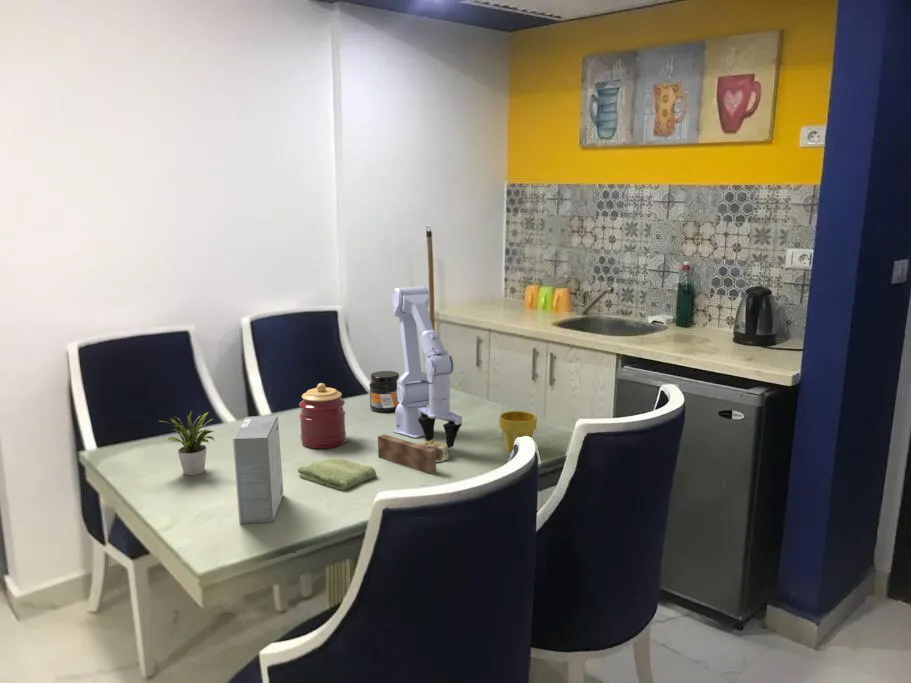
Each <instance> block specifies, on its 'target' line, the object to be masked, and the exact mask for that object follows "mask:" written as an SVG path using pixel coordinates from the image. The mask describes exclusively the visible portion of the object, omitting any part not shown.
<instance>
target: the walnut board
mask: <svg viewBox="0 0 911 683" xmlns="http://www.w3.org/2000/svg"><path fill="white" fill-rule="evenodd" d="M419 444H420V443H415V442H413V441H408V440H405V439H401V438H398V437H394V436H392V435H388V434H386V433H384V434H381V435H378V436H377V451H378V453H377V454H378V456H377V457H378V458H379V459H383V460H386V461H389V462H390V463H391V462H392V463H395V464H398V465H401V466H404V467H407V468H410V469H413V470H415V471H420V472H423V473H426V474H429V475H431V474H434V473H435V472H437V462H436V461H437V460H436V449H433V448H429V447H426V446H422V445H419Z"/></svg>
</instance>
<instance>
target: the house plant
mask: <svg viewBox="0 0 911 683" xmlns="http://www.w3.org/2000/svg"><path fill="white" fill-rule="evenodd" d="M192 412H193V410H190V412H189V415H187V423H188V429H187V428H186V427H185V426H184V424H183V422H182V421H181V419H180V418H179V417H177V416H175V418H176V419H177V420H178V421H179V422H177V421H176V419H173V418H171V419H170V421H171V422H172V423H173V424H174V425H175V426H173V425H172V427H173V428H175V429H172V430H173V431H175V432H176V433H177V434H178V435H179V436H180V438H181V440H180V438H177V437H175V436H170V437H168V438H167V439H166V441H169V443H173V442H176V443H177V444H178V443H181V444H182V445H183V446H181V447H179V448H178V449H177V454H178V457H179V461H180V465H181V467H182V472H183V475H187V476H196V475H200V474H203V472H205V471H206V470H205V469H206V467H205V466H206V458H207V449H208V447H207V446H206V445H205V444H202V443H207V444H210V443H209V439H210V440H212V441H214V442H216V441H215V438H214V436H211V435H209V436H208V434H211V433H215V431H214V430H211V429H210V428H207V429H203V427H205V424H203V423H204V422H205V419H206V416H207V415H208V413H209V411H208V412H206V413H204V414H203V415H202V414H200V415H199V416H198V417H197V418H196V419H195V420H194V422H192V419H191V418H192ZM198 419H199V420H198ZM212 420H213V418H212V419H209V420H208V421H207V423H209V422H211V421H212ZM197 421H198V422H197ZM160 422H163V423H167V424H169V422H168V421H163V420H160ZM196 422H197V423H196ZM179 423H180V424H181V425H180V424H179ZM195 424H196V425H195ZM176 428H177V429H176ZM202 429H203V430H202Z"/></svg>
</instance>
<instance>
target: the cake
mask: <svg viewBox="0 0 911 683" xmlns="http://www.w3.org/2000/svg"><path fill="white" fill-rule="evenodd" d="M418 444H419V445H422V446H426V447H429V448H433V449H436V463H438V462H439V463H440V462H441V463H442V462H445V461H447V460H449V459H450V458H451V456H450V455H449V453H448V451H449V448H448V446H447V444H446V443H444V442H443V441H438V440H437V441H435V440H434V438H433V439H432V440H430V441H426V440H425V441H422V442H419V443H418Z"/></svg>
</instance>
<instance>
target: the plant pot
mask: <svg viewBox="0 0 911 683" xmlns="http://www.w3.org/2000/svg"><path fill="white" fill-rule="evenodd" d="M537 420H538V417H537V414H534V413H532V412H528V411H526V410H525V411H523V410H510V411H505V412H503V413H501V414H500V415H499V422H498V423H499V429H500V430H501V432H502V437H503V442H504V445H505V446H504V447H505V450H506V451H507V452H509V453H513V452H512V450H513V444H514V441H515V439H516V438H517V437H522V436H529V437H531V438H533V436H534V432H535V430H536V429H537V422H538V421H537Z"/></svg>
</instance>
